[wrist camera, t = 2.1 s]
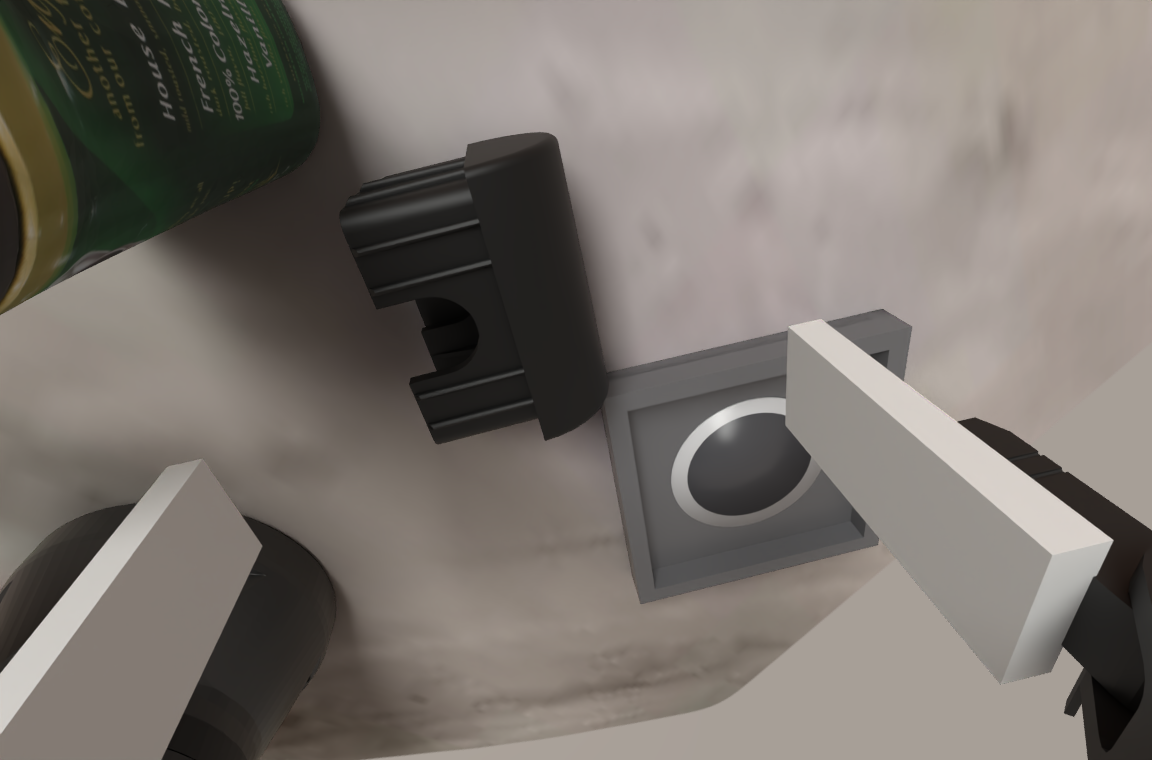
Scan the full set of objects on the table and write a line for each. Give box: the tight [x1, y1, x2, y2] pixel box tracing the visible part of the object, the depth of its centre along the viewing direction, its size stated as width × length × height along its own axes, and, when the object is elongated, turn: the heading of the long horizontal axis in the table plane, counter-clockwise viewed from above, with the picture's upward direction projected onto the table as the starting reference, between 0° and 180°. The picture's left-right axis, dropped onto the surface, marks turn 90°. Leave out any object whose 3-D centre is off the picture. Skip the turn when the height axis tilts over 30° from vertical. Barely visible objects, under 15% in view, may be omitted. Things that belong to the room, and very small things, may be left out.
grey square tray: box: [601, 309, 912, 604], centre depth 30 cm, size 15×15×2 cm
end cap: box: [340, 132, 609, 444], centre depth 21 cm, size 10×7×7 cm
